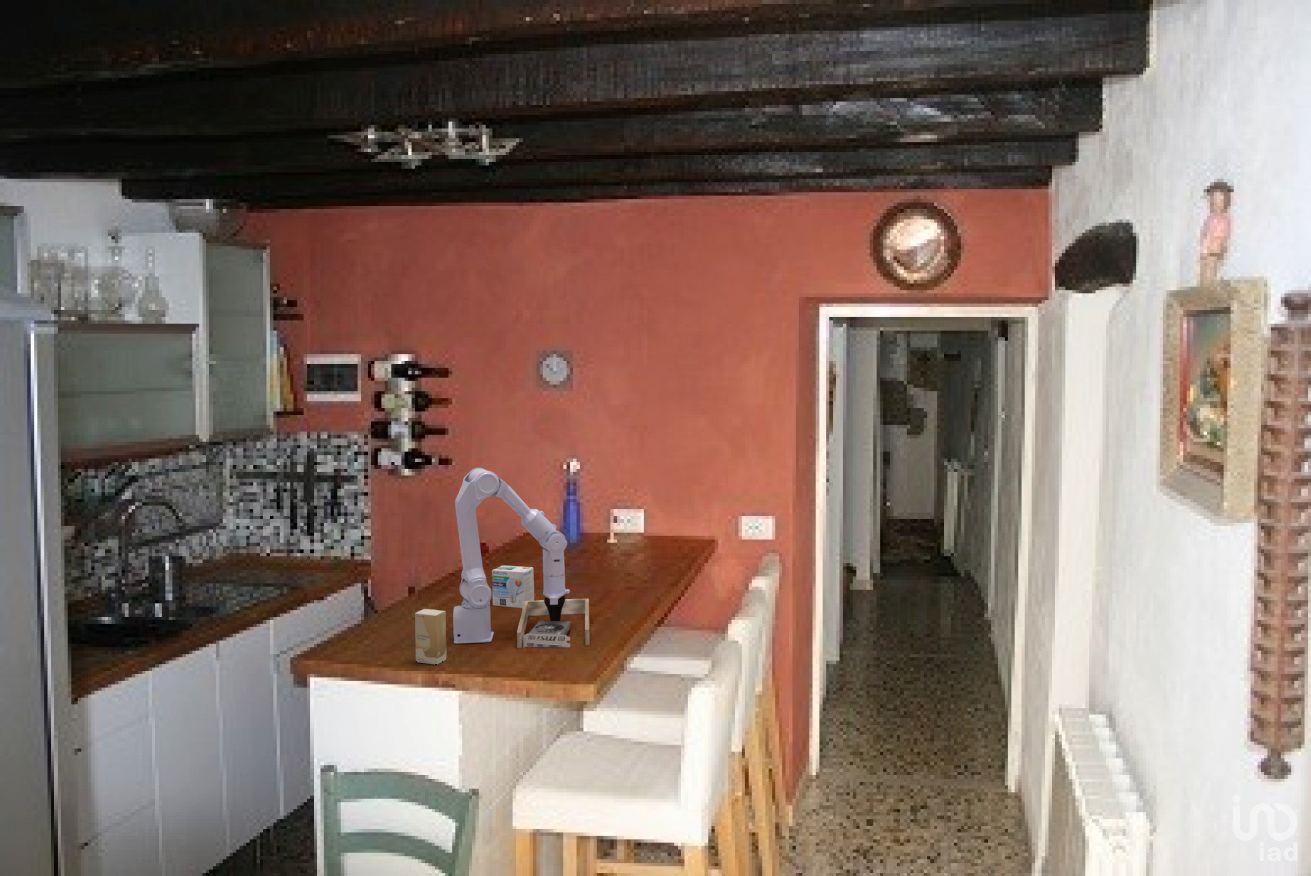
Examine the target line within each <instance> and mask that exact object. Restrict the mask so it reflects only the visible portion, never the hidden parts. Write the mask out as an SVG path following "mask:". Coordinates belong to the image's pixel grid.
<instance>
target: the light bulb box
mask: <svg viewBox="0 0 1311 876" xmlns="http://www.w3.org/2000/svg"><path fill="white" fill-rule="evenodd" d="M534 573H535V572H534V567H532V566H516V565H505V564H504V565H500V566H498V567H496V568H494V569H491V582H492V583H491V584H492V585H491V587H492V589H491V592H492V606H495V607H496V606H497V607H506V608H507V607H508V608H518V609H523V605H524V601H535V581H534V579H535V576H534Z"/></svg>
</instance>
